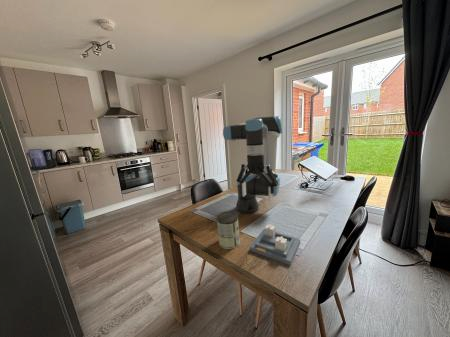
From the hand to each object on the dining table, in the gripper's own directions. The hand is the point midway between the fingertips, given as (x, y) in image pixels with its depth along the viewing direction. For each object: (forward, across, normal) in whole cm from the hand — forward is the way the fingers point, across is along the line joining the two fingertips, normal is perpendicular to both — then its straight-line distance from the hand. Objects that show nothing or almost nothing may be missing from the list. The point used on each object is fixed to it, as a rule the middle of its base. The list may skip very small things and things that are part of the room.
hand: (256, 197), depth 88 cm
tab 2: (+19, +14, -8) cm, 25 cm away
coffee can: (+21, -10, -11) cm, 26 cm away
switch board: (+21, +10, -4) cm, 24 cm away
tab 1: (+19, +6, -1) cm, 20 cm away
